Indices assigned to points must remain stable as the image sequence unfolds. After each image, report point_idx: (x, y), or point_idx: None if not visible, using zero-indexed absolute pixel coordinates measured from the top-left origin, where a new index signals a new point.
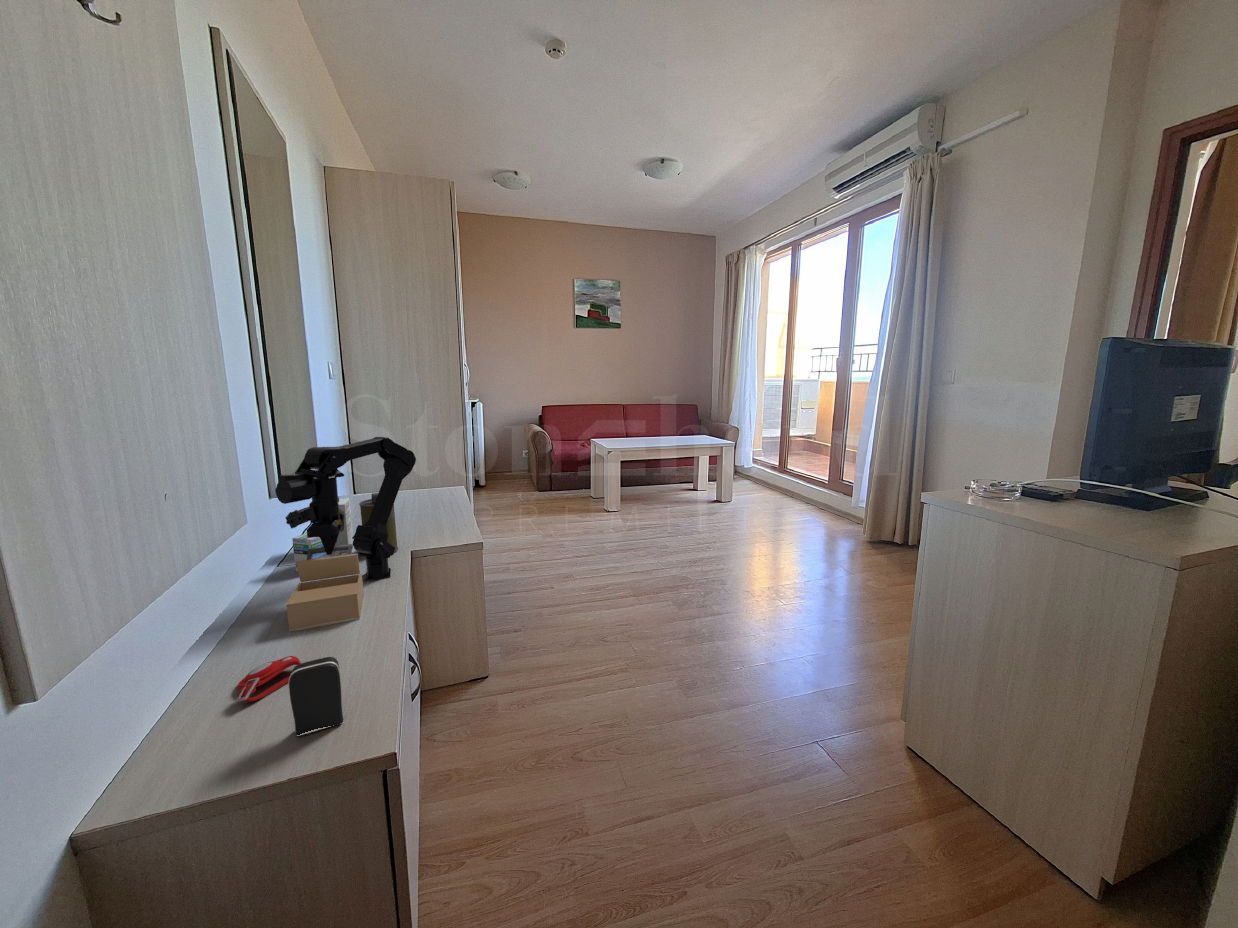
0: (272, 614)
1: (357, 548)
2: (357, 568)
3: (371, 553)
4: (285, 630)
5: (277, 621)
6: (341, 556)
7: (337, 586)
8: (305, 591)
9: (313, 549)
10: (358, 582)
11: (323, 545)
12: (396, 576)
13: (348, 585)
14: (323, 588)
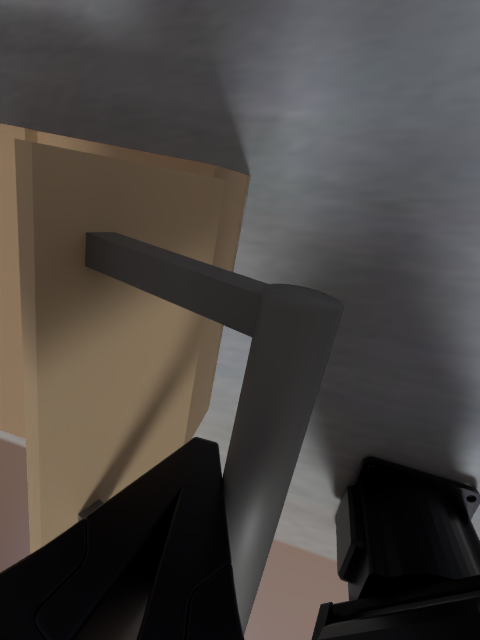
0: (216, 35)
1: (440, 627)
2: None
3: (323, 627)
4: (25, 112)
5: (122, 70)
6: (31, 506)
7: (20, 353)
8: (10, 201)
9: (260, 367)
10: None
11: (105, 504)
12: (332, 548)
13: (14, 396)
14: (18, 292)
